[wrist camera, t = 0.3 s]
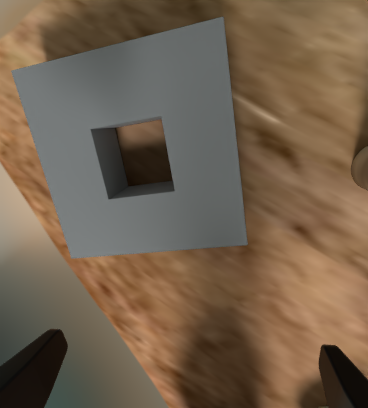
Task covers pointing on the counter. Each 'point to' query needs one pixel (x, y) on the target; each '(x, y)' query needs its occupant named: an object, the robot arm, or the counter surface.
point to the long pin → (361, 168)
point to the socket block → (133, 114)
